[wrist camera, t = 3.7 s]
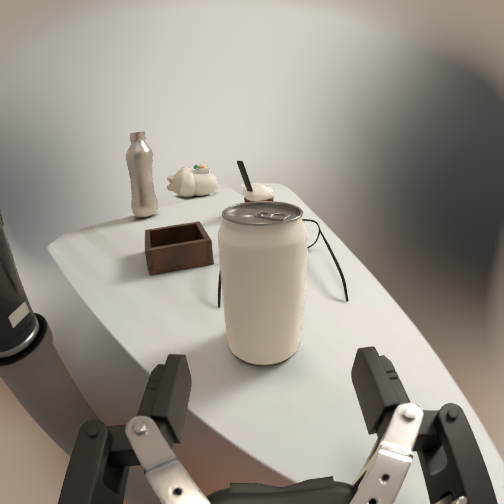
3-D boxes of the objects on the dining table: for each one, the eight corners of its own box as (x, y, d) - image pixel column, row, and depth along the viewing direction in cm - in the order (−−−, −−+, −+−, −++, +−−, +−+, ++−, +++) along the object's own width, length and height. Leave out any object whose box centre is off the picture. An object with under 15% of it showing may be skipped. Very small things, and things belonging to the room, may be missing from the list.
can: (247, 314, 28) (242, 197, 24) (308, 329, 26) (318, 204, 21) (214, 354, 23) (197, 219, 18) (285, 377, 21) (292, 231, 16)
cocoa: (270, 207, 66) (269, 156, 61) (283, 214, 60) (283, 158, 56) (232, 212, 63) (229, 159, 58) (242, 220, 57) (239, 161, 52)
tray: (149, 275, 37) (144, 251, 35) (148, 250, 44) (145, 230, 43) (213, 263, 39) (211, 239, 38) (201, 241, 47) (199, 221, 46)
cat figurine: (218, 161, 80) (167, 160, 75) (222, 178, 75) (167, 178, 71) (214, 185, 87) (166, 185, 83) (217, 203, 83) (166, 203, 78)
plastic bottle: (129, 221, 60) (119, 135, 52) (137, 213, 66) (128, 134, 58) (156, 218, 61) (147, 130, 53) (161, 210, 67) (153, 130, 59)
